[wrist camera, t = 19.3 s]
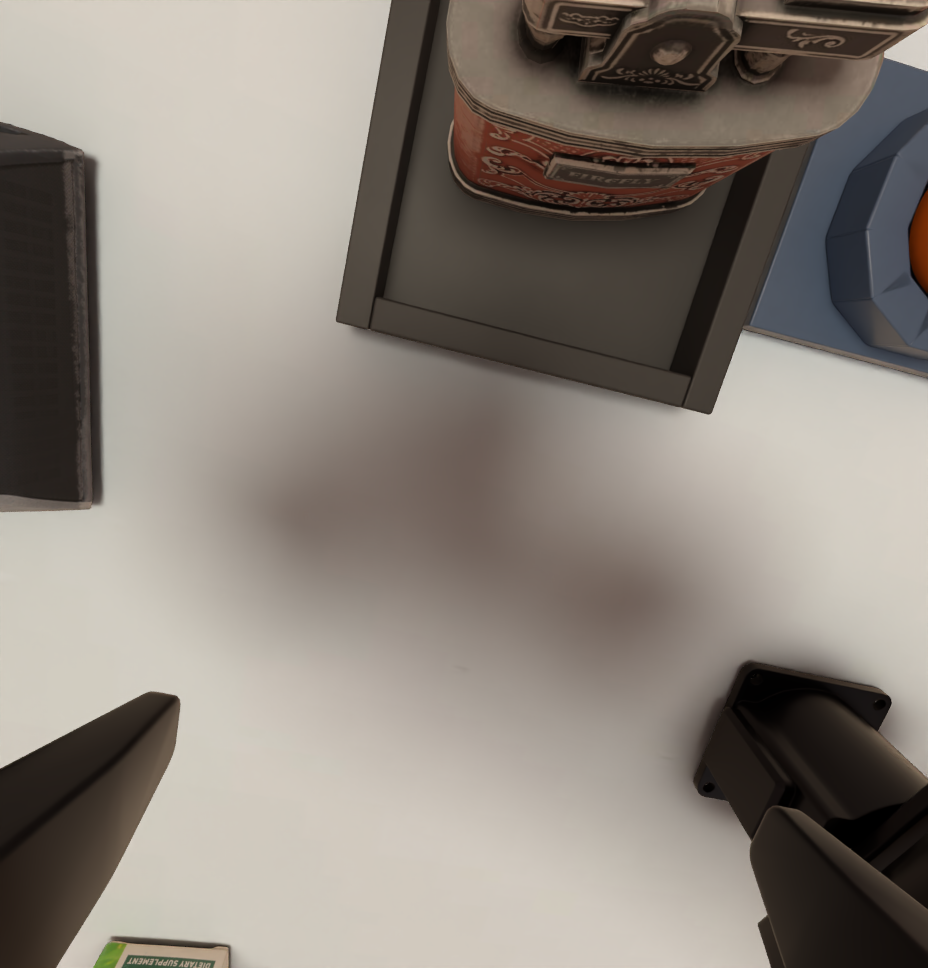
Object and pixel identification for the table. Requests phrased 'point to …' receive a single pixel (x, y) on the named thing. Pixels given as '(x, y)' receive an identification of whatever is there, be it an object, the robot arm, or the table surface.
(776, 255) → the box
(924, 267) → the test button
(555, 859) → the table surface
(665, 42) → the lighter
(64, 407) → the hard drive
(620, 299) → the holder
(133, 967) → the syrup box
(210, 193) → the table surface
